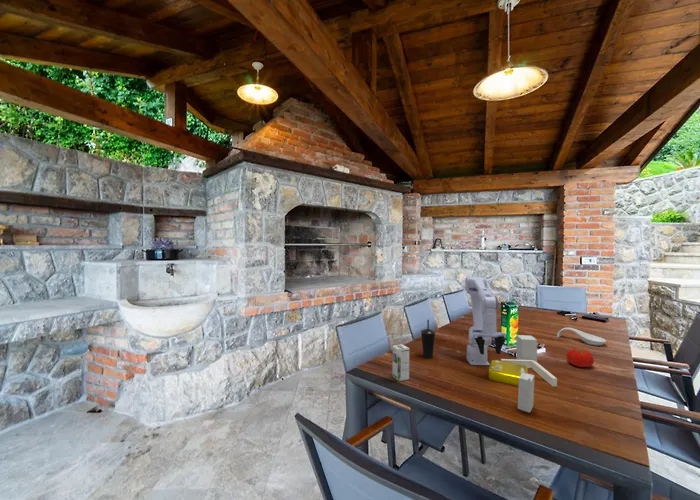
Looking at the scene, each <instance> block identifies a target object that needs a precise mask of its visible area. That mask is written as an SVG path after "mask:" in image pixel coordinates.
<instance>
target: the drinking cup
mask: <svg viewBox="0 0 700 500" xmlns="http://www.w3.org/2000/svg"><path fill="white" fill-rule="evenodd" d="M429 321H430V320H429V319H427V323H426V325H427V327H426V328H425V329H424V328H423V329H421V330H420V334H421V344H422V355H423V358H424V359H433V357H434V346H435V337H436V331H435V330H434V329H431V328H430V322H429Z"/></svg>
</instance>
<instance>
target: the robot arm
mask: <svg viewBox="0 0 700 500" xmlns="http://www.w3.org/2000/svg"><path fill="white" fill-rule="evenodd" d="M487 284H488V281H487V277H485V276H466V277H465V284H464V285H465V292H466V294H468V295H469V297H470V302H471V304H470V305H471V312H472V321H473V325H472V326H470V328H469V329H468V342H469V344H467V345H466V358H465V359H466V360H467V362H468V363H469V364H470V365H471V366H490V365H491V363H489V361H488V347H489V346H490V345H491V344H492V338H494V343H495V354H497V355H501V351H502V348H503V346H504V344H505V342H506V338H507V333H506V332H500V331H499V332H497V310H498V308H499V301H498V297H497V295H495V296H493V294H492V293H491V291H490V289H488V288H487V286H488V285H487Z"/></svg>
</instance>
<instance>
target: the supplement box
mask: <svg viewBox="0 0 700 500" xmlns="http://www.w3.org/2000/svg"><path fill="white" fill-rule="evenodd" d="M515 357H516V358H515V359H516V360H533V361H536V362H537V363H538V339H536V337H534V336H533V335H523V334H521V335H520V334H517V335H516V356H515Z"/></svg>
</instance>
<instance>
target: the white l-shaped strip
mask: <svg viewBox="0 0 700 500" xmlns="http://www.w3.org/2000/svg"><path fill="white" fill-rule="evenodd" d="M500 361H503V362H509V363H514V364H519V365H524V366H526V367H527V368H528V369H532V370H533V371H534V372H535V373H536V374H537V375H539V376H540V377H541V378H542V379H544V381H545V382H547V383H548V384H549V385H550V386H551V387H558V378H557V377H556V376H554V374H552V373H551V372H550V371H548V370H547V369H546V368H544V366H542V365H541V364H540V363H538V361H537V362H536V361H533V360H518V359H516V358H515V359H514V358H512V359H511V358H510V359H509V358H508V359H507V358H500Z"/></svg>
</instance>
